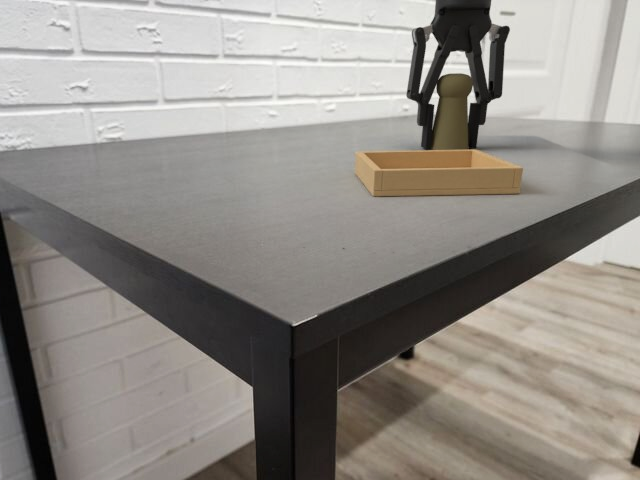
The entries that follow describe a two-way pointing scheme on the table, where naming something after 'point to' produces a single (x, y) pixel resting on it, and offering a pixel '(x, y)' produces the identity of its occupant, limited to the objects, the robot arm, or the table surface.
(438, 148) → the olive pawn
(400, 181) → the tray
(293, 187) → the table surface
